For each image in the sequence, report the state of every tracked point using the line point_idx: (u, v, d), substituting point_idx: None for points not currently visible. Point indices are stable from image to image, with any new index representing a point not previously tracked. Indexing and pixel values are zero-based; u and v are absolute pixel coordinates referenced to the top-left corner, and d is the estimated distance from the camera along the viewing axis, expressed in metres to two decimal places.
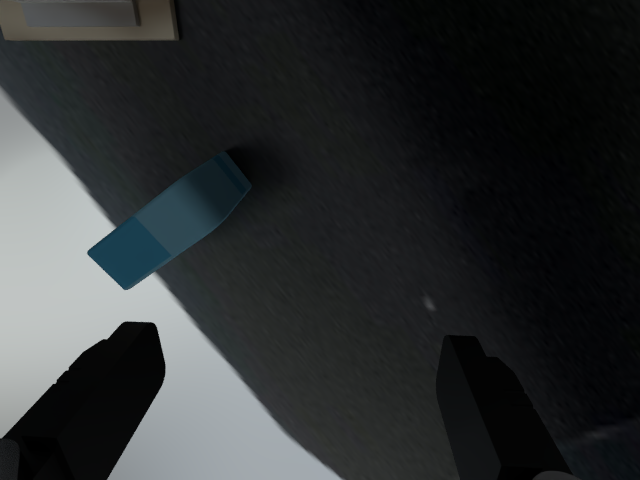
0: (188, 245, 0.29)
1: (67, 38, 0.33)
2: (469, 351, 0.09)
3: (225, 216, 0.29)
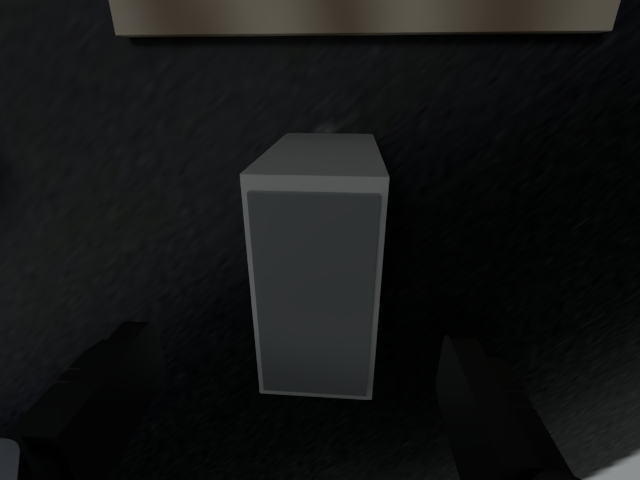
0: None
1: None
2: (469, 351, 0.09)
3: None
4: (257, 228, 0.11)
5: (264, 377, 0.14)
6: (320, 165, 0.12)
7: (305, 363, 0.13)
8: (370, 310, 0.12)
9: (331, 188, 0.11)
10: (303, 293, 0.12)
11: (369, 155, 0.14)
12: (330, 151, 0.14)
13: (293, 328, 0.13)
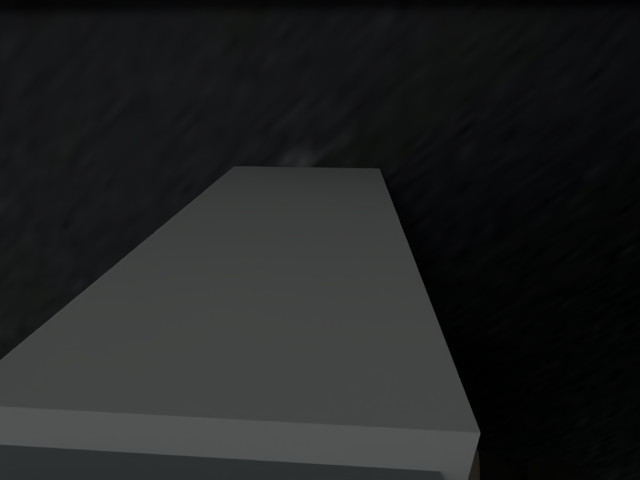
0: None
1: None
2: None
3: None
4: None
5: None
6: (253, 316, 0.04)
7: None
8: None
9: (271, 451, 0.03)
10: None
11: (384, 252, 0.06)
12: (296, 232, 0.07)
13: None
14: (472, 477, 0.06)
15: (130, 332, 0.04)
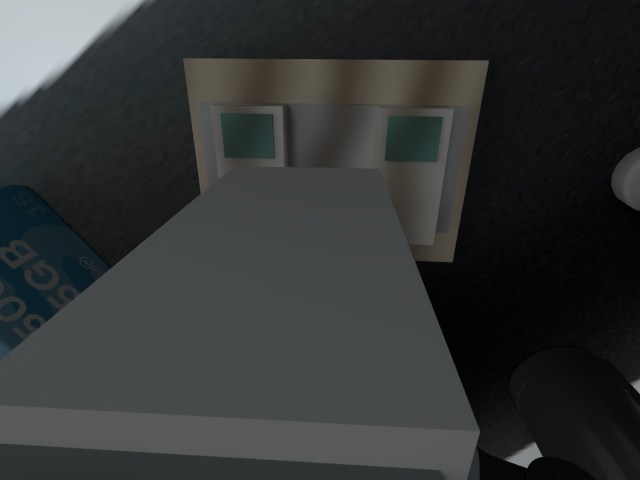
0: None
1: (195, 141, 0.29)
2: None
3: None
4: None
5: None
6: (254, 315, 0.04)
7: None
8: None
9: (270, 449, 0.03)
10: None
11: (384, 252, 0.06)
12: (296, 231, 0.07)
13: None
14: (472, 477, 0.06)
15: (130, 331, 0.04)
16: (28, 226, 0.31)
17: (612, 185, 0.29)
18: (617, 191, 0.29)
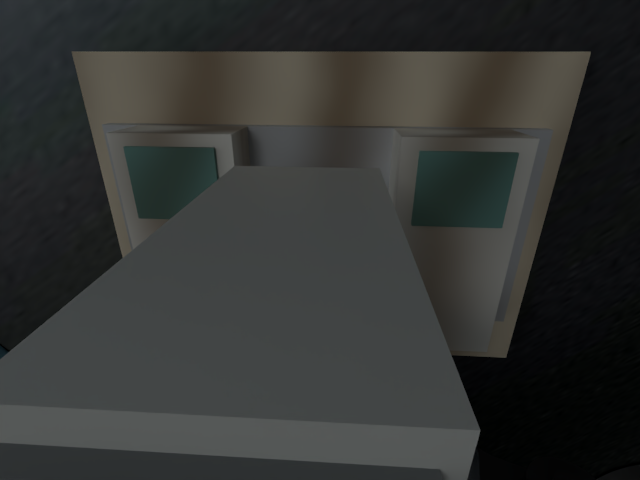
0: None
1: (106, 184, 0.18)
2: None
3: None
4: None
5: None
6: (254, 315, 0.04)
7: None
8: None
9: (271, 450, 0.03)
10: None
11: (384, 251, 0.06)
12: (296, 231, 0.07)
13: None
14: (472, 477, 0.06)
15: (130, 331, 0.04)
16: None
17: None
18: None
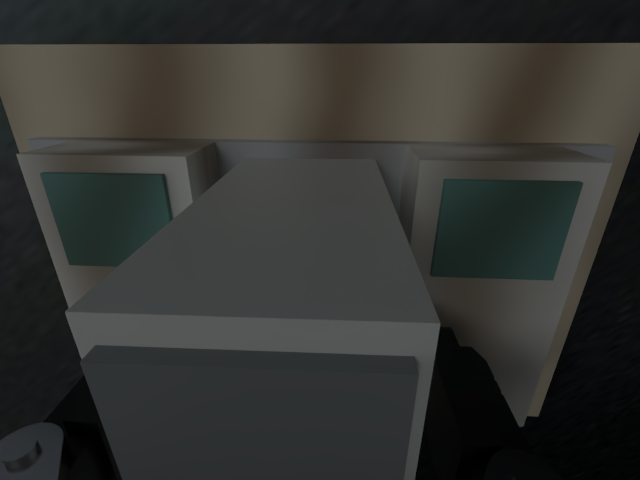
0: None
1: None
2: (443, 340, 0.09)
3: None
4: (120, 429, 0.05)
5: None
6: (275, 262, 0.06)
7: None
8: None
9: (294, 343, 0.04)
10: None
11: (377, 220, 0.07)
12: (304, 207, 0.08)
13: None
14: None
15: (183, 272, 0.05)
16: None
17: None
18: None
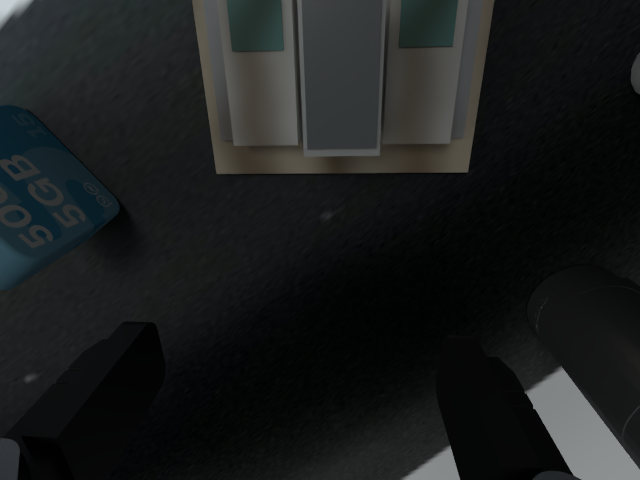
0: None
1: (200, 47, 0.28)
2: (469, 351, 0.09)
3: (14, 286, 0.27)
4: (306, 11, 0.18)
5: (308, 137, 0.21)
6: None
7: (335, 122, 0.20)
8: (377, 73, 0.19)
9: None
10: (335, 62, 0.19)
11: None
12: None
13: (328, 92, 0.20)
14: None
15: None
16: (30, 145, 0.30)
17: (632, 79, 0.28)
18: (638, 83, 0.28)
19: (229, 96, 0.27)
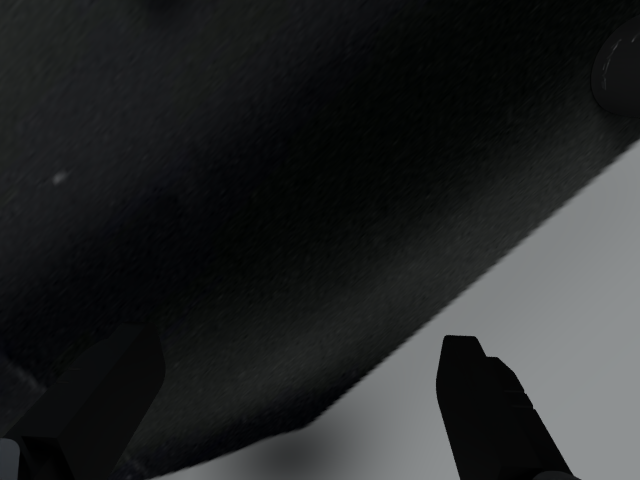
0: None
1: None
2: (469, 351, 0.09)
3: None
4: None
5: None
6: None
7: None
8: None
9: None
10: None
11: None
12: None
13: None
14: None
15: None
16: None
17: None
18: None
19: None
